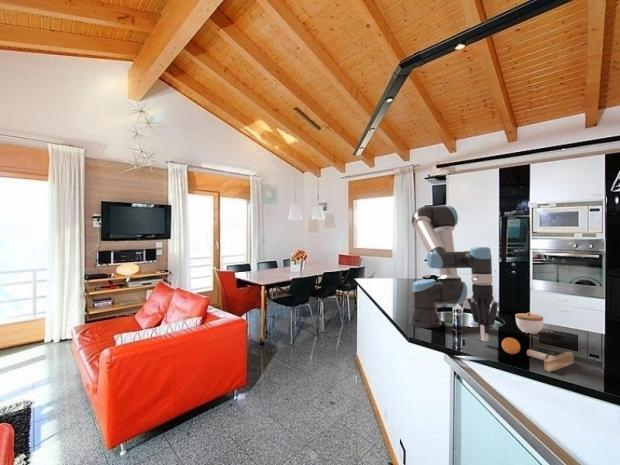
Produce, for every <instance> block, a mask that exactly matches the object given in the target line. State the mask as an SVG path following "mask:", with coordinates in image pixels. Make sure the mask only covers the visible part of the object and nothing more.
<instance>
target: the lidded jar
mask: <svg viewBox="0 0 620 465" xmlns="http://www.w3.org/2000/svg"><path fill="white" fill-rule="evenodd" d="M514 316H515V323H516V326H517V327H518V329H519V330H520V331H521V332H522V333H524V332H525V333H524V334H528V333H530V334H529V335H538V334H539V332H541V330H543V327H544V326H543V325H544V316H542V315H539V314H535V313H534V314H533V313H531V312H530V311H527V313H525V312H524V313H522V312H521V313H516V314H514ZM537 333H538V334H537Z"/></svg>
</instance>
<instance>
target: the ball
mask: <svg viewBox="0 0 620 465" xmlns="http://www.w3.org/2000/svg"><path fill="white" fill-rule="evenodd" d="M501 348H502V349H503V351H504V352H505V353H507V354H510V355H516V354H518V353H520V351H521V344H520V342H519V341H518V340H517V339H516V338H513V337H505V338H503V340H502V341H501Z"/></svg>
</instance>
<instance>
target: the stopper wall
mask: <svg viewBox="0 0 620 465" xmlns="http://www.w3.org/2000/svg"><path fill="white" fill-rule="evenodd" d="M553 356H554V357H552V358H549V359H546V360H543V364H544V365H543V366H544V368H543V369H544V370H546V371H549V372H550V373H552V372H551V371H553V372H555V371H558V370H560V369H562V368H565V367H567V366H571V365H572V364H574V360H575V358H574V352H571V351H566V352H563V353H560V354H557V355H553ZM546 371H545V372H546ZM549 372H548V373H549Z"/></svg>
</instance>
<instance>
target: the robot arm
mask: <svg viewBox="0 0 620 465" xmlns="http://www.w3.org/2000/svg"><path fill="white" fill-rule="evenodd" d="M458 222H459V216H458V211H457V210H456V208H454V207H453V206H451V205H428V206H427V205H424V206H421V207H419V208H417V209H416V211H415V212H413V214H412V217H411V224H412V228H413V229H414V230H415V231H417V233H418V235H419V237H420V239H421V241H422V243H423V245H424V247H425V250H426V252H427V254H426V264H427V266H428V268H430V269H437V270H438V269H439V277H437V281H436V280H435V279H432V278H430V279H428V278H427V279H421V280H416V281H414V282H413V283H412V305H413V306H412V308H413V309H412V313H411V316H410V320H409V321H410V325H412V326H414V327H418V328H424V329H434V328H435V329H437V328H440V327H441V326H442V320H441V318H440V315H439V312H438V311H437V310H438V308H437V307H438V306H437V305H459V303H462V304H463V303H464V302H465V301H466V300H467V302H468V304H469V307H470V311H471V316H472V319H473V322H475V323H477V324H478V332H480V341H481V342H489V334H490V332H491V328H490V326H493V325H495V323H496V318H497V313H498V308H499V307H500V305H501V303H500V302H499V301H496V300H495V297H494V296H493V293H494V291H493V290H494V289H493V288H494V286H493V285H492V284H493V274H492V272H493V269H492V268H493V265H492V264H493V263H492V257H493V256H492V252H491V251H492V249H491V248H490V247H488V246H483V247H482V246H480V247H479V246H478V247H477V246H475V247H474V246H473V247H470V250H464V251H455V245H454V244H455V243H454V238H453V237H454V236H453V231H454V230H455V227H456V226H457V225H458ZM458 269H470V270H471V282H472V283H473V284H471V289H472V290H471V291H472V296H471V297H470V298H467V297H468V286H467V284H466V282H464V281H462V277H461V276H460V275H458Z"/></svg>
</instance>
